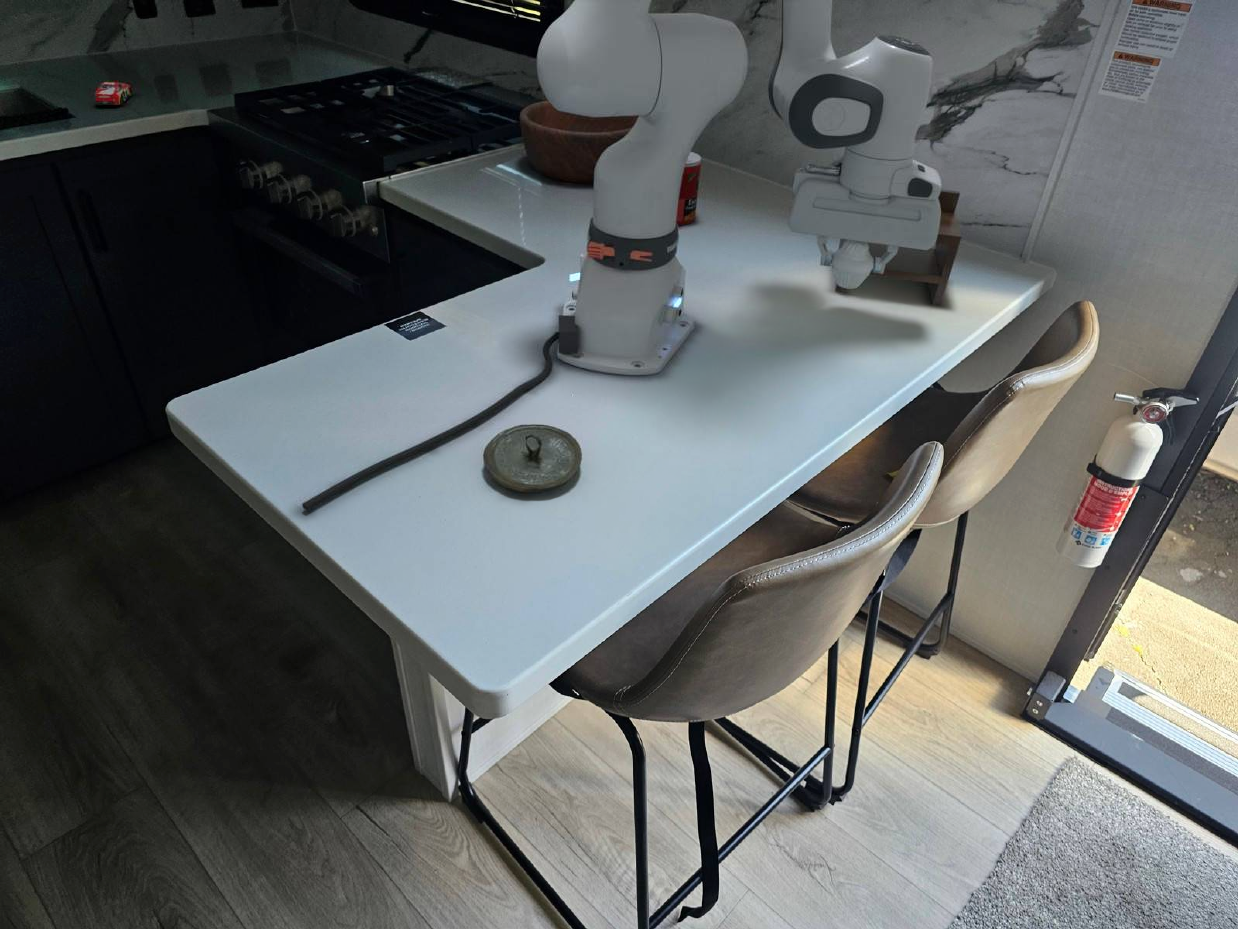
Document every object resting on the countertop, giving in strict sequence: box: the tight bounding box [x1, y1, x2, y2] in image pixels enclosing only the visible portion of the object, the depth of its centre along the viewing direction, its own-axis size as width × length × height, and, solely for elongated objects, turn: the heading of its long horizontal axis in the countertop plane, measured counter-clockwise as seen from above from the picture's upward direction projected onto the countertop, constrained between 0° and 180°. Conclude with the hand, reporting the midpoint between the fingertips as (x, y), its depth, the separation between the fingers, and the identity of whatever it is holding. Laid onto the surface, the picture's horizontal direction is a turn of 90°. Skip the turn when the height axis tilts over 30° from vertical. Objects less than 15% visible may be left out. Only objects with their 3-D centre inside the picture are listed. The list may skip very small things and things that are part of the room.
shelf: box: [834, 188, 963, 306], centre depth 131 cm, size 11×16×14 cm
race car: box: [94, 81, 133, 106], centre depth 192 cm, size 13×5×4 cm, turn 9°
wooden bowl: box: [519, 100, 639, 184], centre depth 170 cm, size 25×25×10 cm
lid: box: [482, 423, 583, 493], centre depth 91 cm, size 11×10×5 cm
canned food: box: [676, 151, 702, 226], centre depth 150 cm, size 8×8×11 cm
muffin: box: [830, 240, 874, 290], centre depth 122 cm, size 6×6×7 cm
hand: (851, 268), depth 122 cm, fingers closed on muffin, 6 cm apart
